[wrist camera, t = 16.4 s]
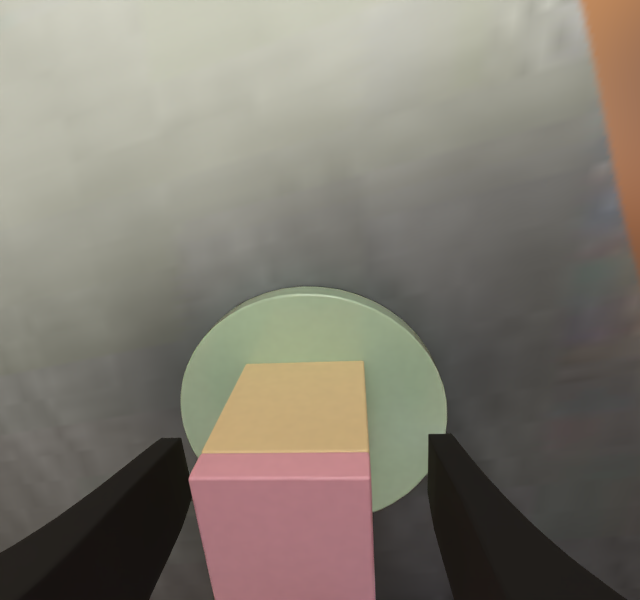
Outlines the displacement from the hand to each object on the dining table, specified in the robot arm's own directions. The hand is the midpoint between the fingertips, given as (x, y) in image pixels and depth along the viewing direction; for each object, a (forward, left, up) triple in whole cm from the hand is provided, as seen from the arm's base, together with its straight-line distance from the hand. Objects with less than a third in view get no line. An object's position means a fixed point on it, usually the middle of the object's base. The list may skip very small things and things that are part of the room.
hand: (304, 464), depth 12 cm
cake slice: (0, 0, -2) cm, 2 cm away
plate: (0, 0, -3) cm, 3 cm away
